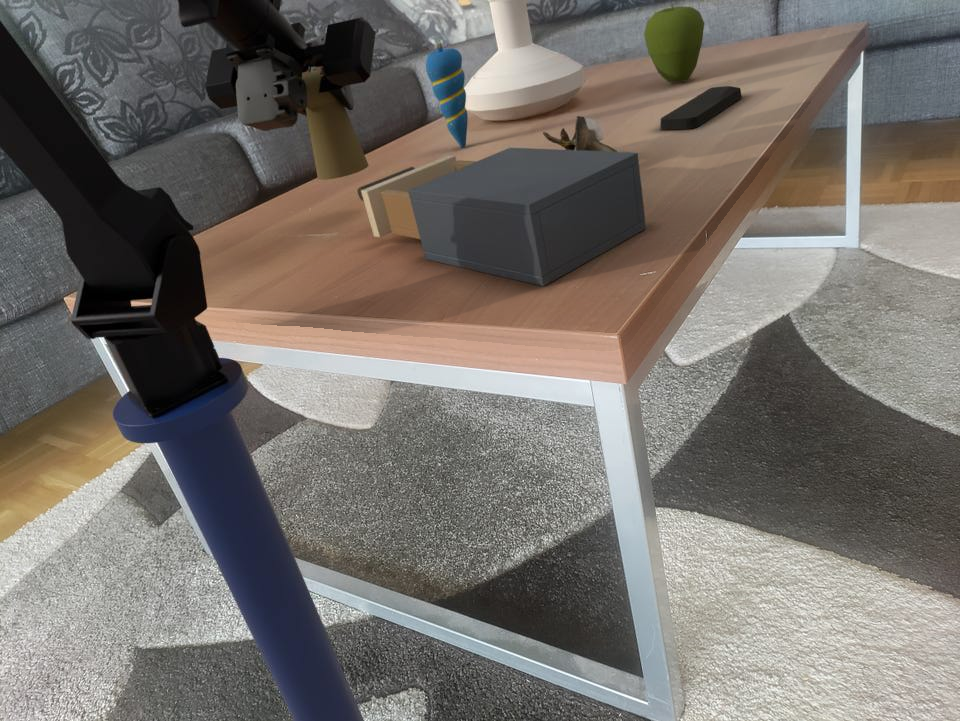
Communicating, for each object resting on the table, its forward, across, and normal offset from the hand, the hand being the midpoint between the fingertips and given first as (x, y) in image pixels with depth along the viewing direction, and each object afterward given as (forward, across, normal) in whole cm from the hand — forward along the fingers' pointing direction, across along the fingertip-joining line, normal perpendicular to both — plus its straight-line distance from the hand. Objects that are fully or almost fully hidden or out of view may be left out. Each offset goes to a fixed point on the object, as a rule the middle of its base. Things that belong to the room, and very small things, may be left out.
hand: (331, 110), depth 85 cm
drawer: (0, +15, -15) cm, 21 cm away
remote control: (+26, +38, +10) cm, 47 cm away
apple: (+43, +33, +27) cm, 60 cm away
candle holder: (+40, +9, +24) cm, 47 cm away
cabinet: (-3, +26, -20) cm, 33 cm away
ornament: (+26, +4, +10) cm, 28 cm away
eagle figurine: (+12, +27, -5) cm, 30 cm away
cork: (+4, 0, -6) cm, 7 cm away
